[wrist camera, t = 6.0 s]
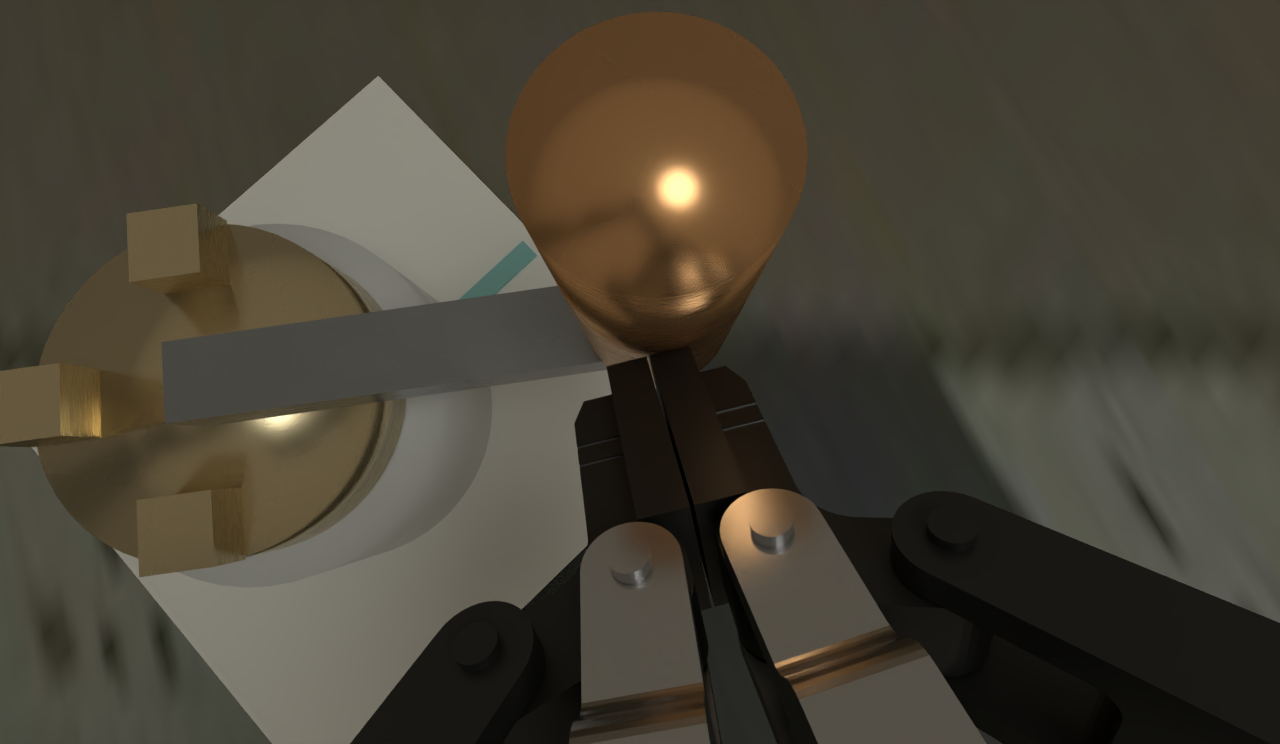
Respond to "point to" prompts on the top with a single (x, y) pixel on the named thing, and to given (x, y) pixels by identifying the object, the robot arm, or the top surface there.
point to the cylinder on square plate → (424, 455)
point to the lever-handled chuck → (418, 335)
